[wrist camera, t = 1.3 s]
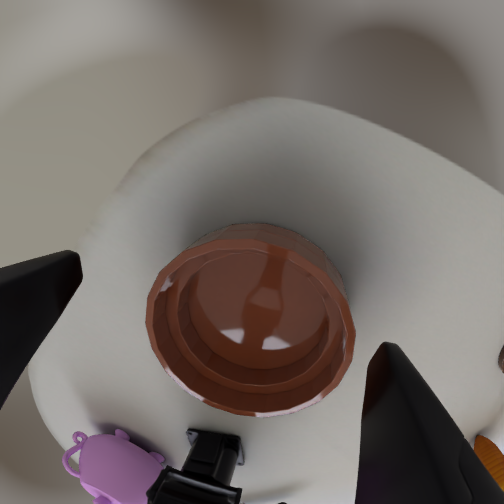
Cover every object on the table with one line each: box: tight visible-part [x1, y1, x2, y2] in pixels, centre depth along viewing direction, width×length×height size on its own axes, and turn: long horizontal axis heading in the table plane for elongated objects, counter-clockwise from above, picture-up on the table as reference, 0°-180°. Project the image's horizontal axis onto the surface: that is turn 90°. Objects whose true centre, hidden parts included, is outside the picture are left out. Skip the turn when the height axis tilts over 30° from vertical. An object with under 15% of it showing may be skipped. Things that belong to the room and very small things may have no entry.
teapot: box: [62, 429, 165, 504], centre depth 29 cm, size 20×14×12 cm
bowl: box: [145, 223, 356, 417], centre depth 21 cm, size 14×14×5 cm
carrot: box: [474, 435, 504, 492], centre depth 16 cm, size 5×5×15 cm
